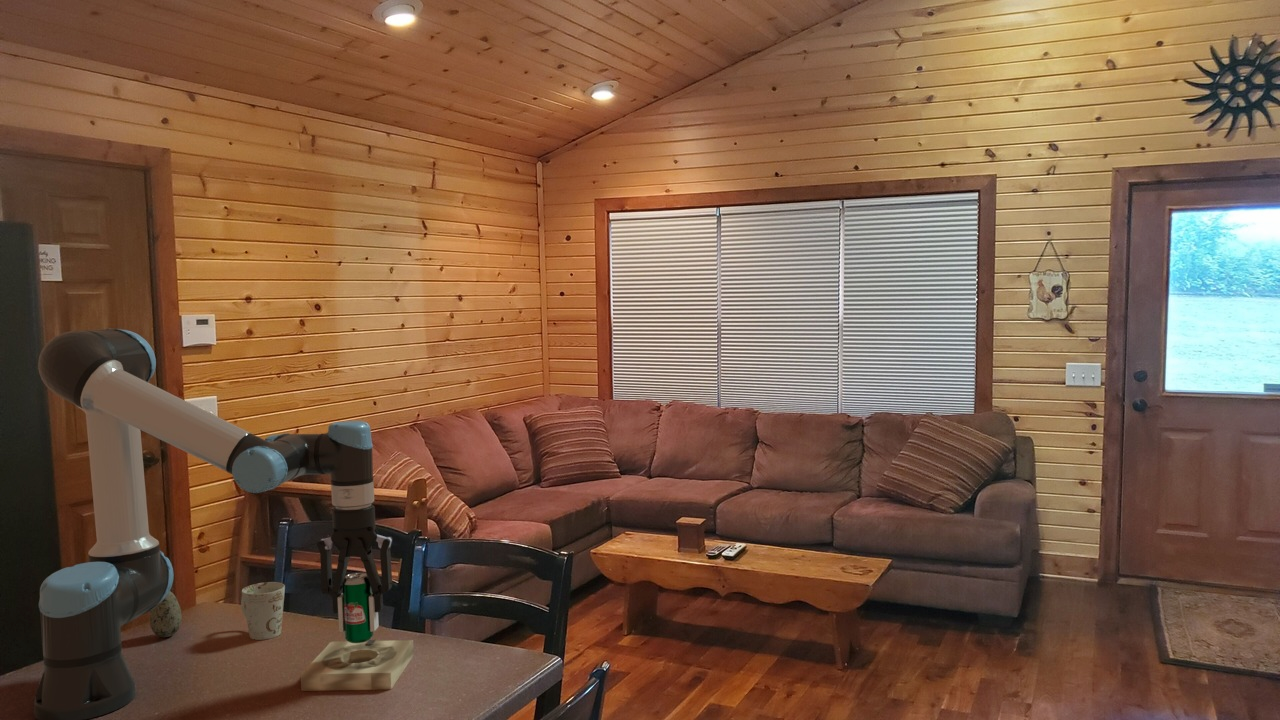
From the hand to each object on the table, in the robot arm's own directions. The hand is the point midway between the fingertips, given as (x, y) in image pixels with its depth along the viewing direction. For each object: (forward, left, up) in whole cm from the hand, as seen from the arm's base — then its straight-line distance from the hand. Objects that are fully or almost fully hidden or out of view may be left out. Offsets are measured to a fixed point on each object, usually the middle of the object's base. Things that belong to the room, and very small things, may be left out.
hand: (359, 629), depth 173 cm
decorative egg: (-47, +21, -8) cm, 52 cm away
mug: (-28, +22, -8) cm, 37 cm away
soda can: (0, 0, -2) cm, 2 cm away
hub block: (0, 0, -8) cm, 8 cm away
